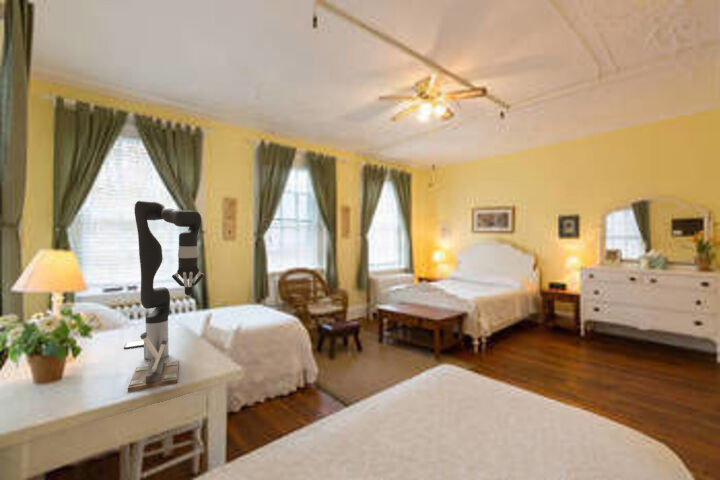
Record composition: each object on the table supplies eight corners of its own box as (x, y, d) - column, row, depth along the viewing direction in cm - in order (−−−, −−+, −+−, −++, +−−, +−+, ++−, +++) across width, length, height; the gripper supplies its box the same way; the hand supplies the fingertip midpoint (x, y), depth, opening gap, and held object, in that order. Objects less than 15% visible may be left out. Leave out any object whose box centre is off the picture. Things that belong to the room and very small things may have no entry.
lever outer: (150, 373, 123) (162, 340, 125) (151, 369, 127) (163, 337, 128) (155, 373, 124) (167, 341, 126) (156, 369, 127) (168, 338, 129)
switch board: (127, 392, 119) (127, 380, 119) (136, 370, 137) (136, 360, 137) (177, 382, 126) (176, 371, 126) (179, 363, 145) (179, 354, 145)
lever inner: (155, 361, 136) (140, 336, 133) (156, 358, 139) (141, 334, 137) (160, 359, 137) (144, 334, 134) (161, 356, 140) (145, 331, 137)
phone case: (123, 350, 163) (160, 345, 171) (123, 347, 163) (160, 342, 171) (126, 345, 171) (161, 340, 179) (126, 342, 171) (161, 337, 179)
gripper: (205, 255, 146) (205, 292, 147) (172, 255, 141) (172, 294, 142) (204, 257, 139) (204, 296, 140) (169, 257, 134) (169, 298, 135)
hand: (188, 295), depth 141 cm, fingers closed
